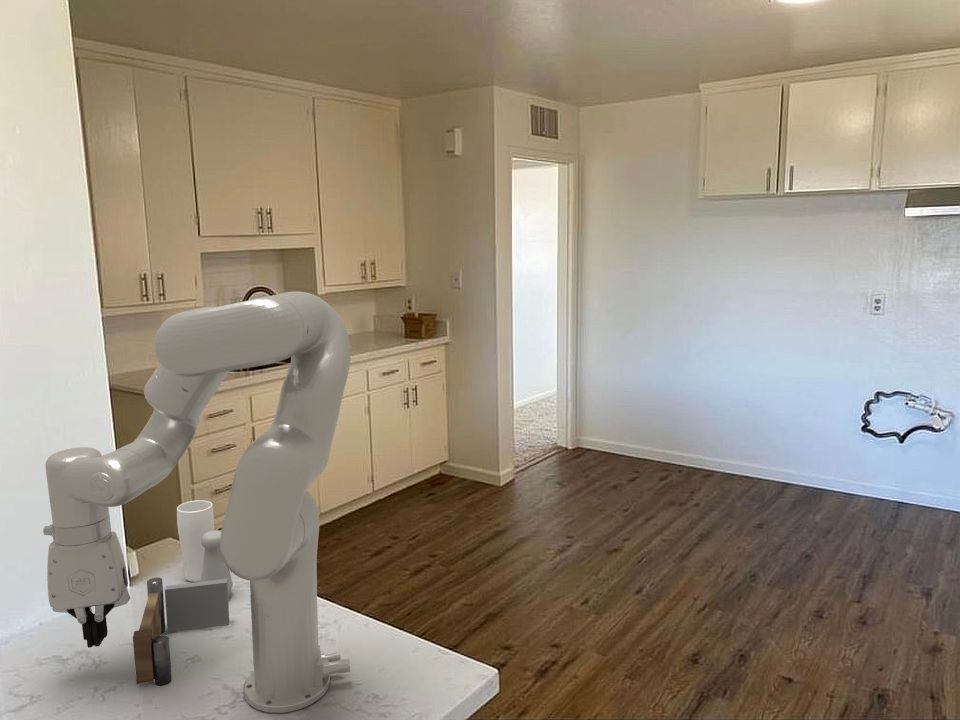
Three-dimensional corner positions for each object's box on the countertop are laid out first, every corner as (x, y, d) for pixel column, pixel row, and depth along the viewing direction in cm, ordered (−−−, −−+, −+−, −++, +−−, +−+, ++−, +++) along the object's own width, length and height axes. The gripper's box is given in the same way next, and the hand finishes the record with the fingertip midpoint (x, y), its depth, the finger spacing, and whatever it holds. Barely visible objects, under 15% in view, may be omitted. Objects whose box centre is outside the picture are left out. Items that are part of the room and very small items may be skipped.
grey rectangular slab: (229, 620, 129) (227, 578, 127) (228, 624, 127) (226, 582, 126) (168, 628, 126) (165, 585, 125) (167, 633, 125) (164, 589, 123)
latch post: (172, 675, 113) (169, 634, 111) (170, 685, 110) (167, 642, 109) (155, 678, 112) (152, 636, 111) (153, 687, 110) (150, 645, 108)
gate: (149, 633, 123) (146, 591, 122) (164, 631, 124) (161, 589, 122) (136, 684, 109) (132, 637, 108) (153, 681, 110) (150, 634, 108)
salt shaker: (239, 595, 138) (236, 531, 136) (214, 608, 133) (210, 541, 131) (219, 587, 141) (216, 524, 139) (194, 600, 136) (190, 534, 134)
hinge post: (166, 627, 126) (163, 576, 125) (164, 634, 124) (161, 583, 123) (151, 629, 126) (147, 578, 124) (149, 636, 123) (145, 584, 122)
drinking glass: (204, 586, 141) (200, 513, 139) (173, 583, 143) (168, 510, 140) (223, 571, 148) (219, 501, 145) (193, 567, 149) (189, 498, 147)
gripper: (17, 545, 104) (34, 662, 107) (129, 534, 107) (141, 649, 110) (38, 525, 111) (53, 635, 114) (142, 516, 114) (153, 624, 117)
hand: (96, 642), depth 112 cm, fingers closed
